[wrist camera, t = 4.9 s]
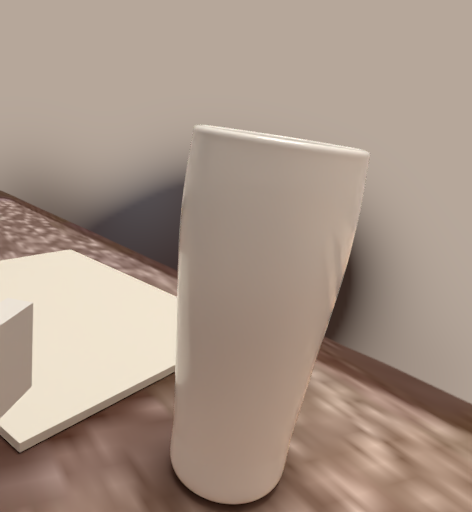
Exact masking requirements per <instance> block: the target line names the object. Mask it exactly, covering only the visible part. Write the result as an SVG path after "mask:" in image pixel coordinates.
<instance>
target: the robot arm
mask: <svg viewBox="0 0 472 512" xmlns="http://www.w3.org/2000/svg"><path fill="white" fill-rule="evenodd" d="M32 344H33V302H28V301H22V300H17V299H11V298H6V299H5V300H3V301H2V302H0V418H1V417H2V416H3V415H4V414H5V413H6V412H7V411H8V410H9V409H10V408H11V407H12V406H13V405H14V404H15V403H16V402H17V401H18V400H19V399H20V398H21V397H22V396H23V395H24V394H25V393H26V392H27V391H28V390H29V389H30V388H31V387H32Z"/></svg>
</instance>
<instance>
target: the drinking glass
mask: <svg viewBox="0 0 472 512" xmlns="http://www.w3.org/2000/svg"><path fill="white" fill-rule="evenodd" d="M369 160H370V153H369V152H368V151H366V150H362V149H357V148H351V147H346V146H340V145H334V144H328V143H322V142H316V141H310V140H304V139H297V138H291V137H285V136H279V135H272V134H266V133H259V132H252V131H245V130H238V129H232V128H225V127H217V126H210V125H200V124H197V125H195V126H194V128H193V134H192V140H191V146H190V152H189V157H188V163H187V170H186V177H185V185H184V192H183V201H182V210H181V221H180V235H179V256H178V288H177V329H176V364H175V394H174V418H173V427H172V435H171V443H170V458H171V463H172V466H173V469H174V471H175V473H176V475H177V476H178V478H179V479H180V481H181V482H182V483H183V484H184V485H185V486H186V487H187V488H188V489H190V490H191V491H192V492H194V493H195V494H197V495H199V496H200V497H203V498H205V499H207V500H210V501H213V502H217V503H222V504H244V503H249V502H252V501H255V500H258V499H260V498H262V497H264V496H265V495H267V494H268V493H269V492H270V491H272V490H273V489H274V487H275V486H276V485H277V484H278V482H279V480H280V479H281V476H282V474H283V471H284V467H285V463H286V458H287V454H288V449H289V445H290V441H291V437H292V434H293V431H294V428H295V425H296V421H297V418H298V415H299V412H300V409H301V406H302V402H303V399H304V396H305V393H306V390H307V387H308V384H309V381H310V378H311V374H312V371H313V368H314V365H315V362H316V359H317V356H318V353H319V350H320V347H321V344H322V341H323V338H324V334H325V332H326V329H327V325H328V323H329V319H330V316H331V313H332V310H333V307H334V304H335V301H336V298H337V295H338V292H339V289H340V285H341V282H342V279H343V276H344V273H345V270H346V266H347V263H348V259H349V255H350V252H351V248H352V244H353V240H354V236H355V232H356V227H357V223H358V218H359V213H360V209H361V204H362V199H363V194H364V188H365V182H366V176H367V170H368V164H369Z"/></svg>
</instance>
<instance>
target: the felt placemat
mask: <svg viewBox="0 0 472 512" xmlns="http://www.w3.org/2000/svg"><path fill="white" fill-rule="evenodd" d="M6 298H11V299H17V300H22V301H28V302H33V344H32V387H31V388H30V389H29V390H28V391H27V392H26V393H25V394H24V395H23V396H22V397H21V398H20V399H19V400H18V401H17V402H16V403H15V404H14V405H13V406H12V407H11V408H10V409H9V410H8V411H7V412H6V413H5V414H4V415H3V416H2V417H1V418H0V435H1V436H2V437H3V438H4V439H5V440H6V441H7V442H9V443H10V444H11V445H12V446H13V447H14V448H15V449H16V450H17V451H18V452H19V453H20V452H22V451H24V450H26V449H28V448H30V447H32V446H34V445H36V444H37V443H39V442H41V441H43V440H45V439H47V438H49V437H51V436H53V435H55V434H57V433H58V432H60V431H62V430H64V429H66V428H68V427H70V426H72V425H74V424H76V423H78V422H79V421H81V420H83V419H85V418H87V417H89V416H91V415H93V414H95V413H97V412H99V411H100V410H102V409H104V408H106V407H108V406H110V405H112V404H114V403H116V402H118V401H120V400H122V399H123V398H125V397H127V396H129V395H131V394H133V393H135V392H137V391H139V390H141V389H143V388H144V387H146V386H148V385H150V384H152V383H154V382H156V381H158V380H160V379H162V378H164V377H165V376H167V375H169V374H171V373H173V372H175V364H176V329H177V297H176V296H174V295H171V294H169V293H167V292H165V291H162V290H160V289H158V288H156V287H153V286H151V285H149V284H147V283H145V282H142V281H140V280H138V279H136V278H133V277H131V276H129V275H127V274H124V273H122V272H120V271H118V270H115V269H113V268H111V267H109V266H106V265H104V264H102V263H100V262H97V261H95V260H93V259H91V258H89V257H86V256H84V255H82V254H80V253H77V252H75V251H73V250H64V251H58V252H52V253H46V254H39V255H33V256H27V257H21V258H14V259H8V260H2V261H0V302H2V301H3V300H5V299H6Z"/></svg>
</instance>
